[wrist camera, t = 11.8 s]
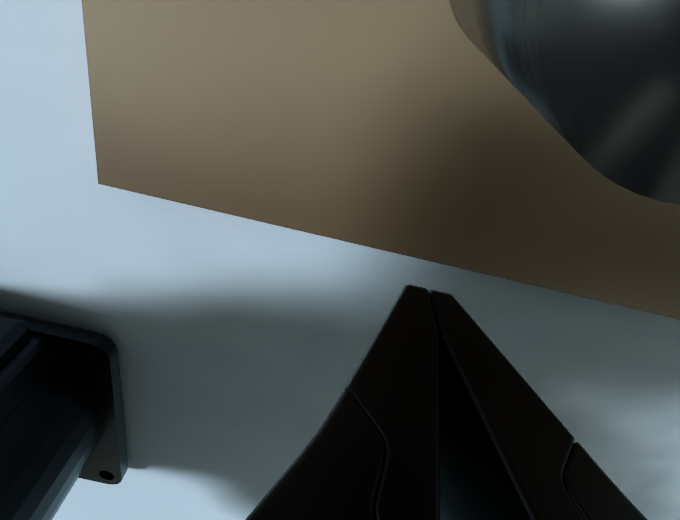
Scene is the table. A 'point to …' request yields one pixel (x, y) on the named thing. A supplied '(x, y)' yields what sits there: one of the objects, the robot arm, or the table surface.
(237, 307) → the table surface
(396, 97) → the wooden board with blocks
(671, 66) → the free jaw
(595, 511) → the robot arm
